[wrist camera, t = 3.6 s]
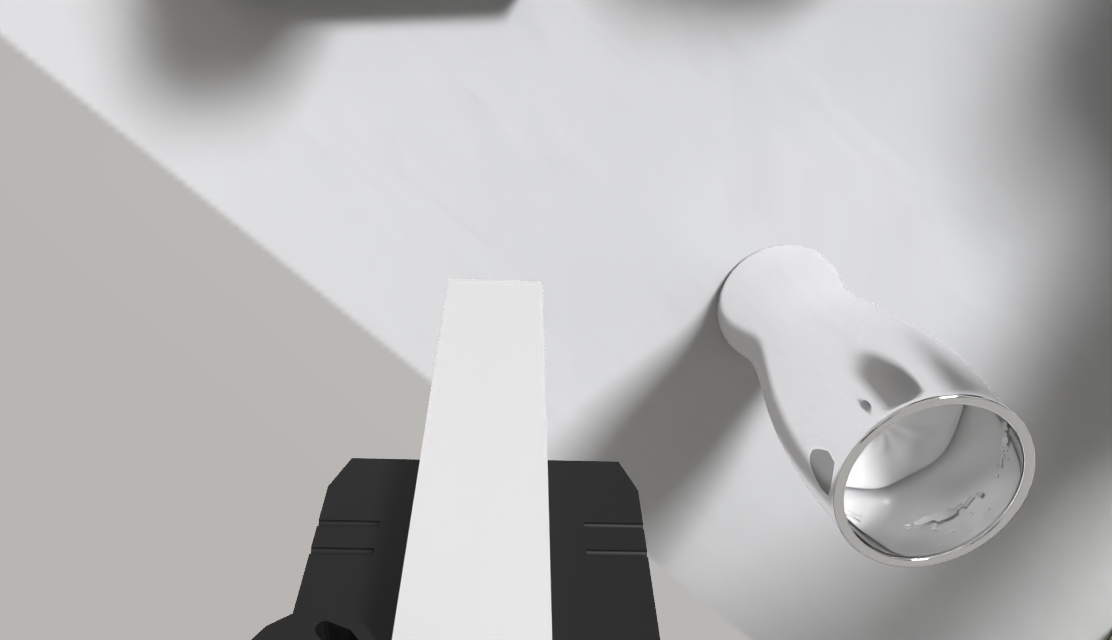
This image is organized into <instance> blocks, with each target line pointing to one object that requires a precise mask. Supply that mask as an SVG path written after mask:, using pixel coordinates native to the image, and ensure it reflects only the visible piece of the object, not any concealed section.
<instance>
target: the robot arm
mask: <svg viewBox="0 0 1112 640" xmlns="http://www.w3.org/2000/svg"><path fill="white" fill-rule="evenodd" d="M311 548H312V549H311V554H309V557H308V561H307V565H306V568H305V572H304V575H303V579H302V583H301V586H300V590H299V593H298V597H297V601H296V604H295V608H294V612H293V614H291V615H289V616H287V617H284V618H282V619H280V620H278V621H276V622H274V623H272V624H270V625H268V626H266V627H265V628H264V629H263V630H261V631H260V632H259V633H258V634H257V635H256V636H255V637H254V638H253V639H252V640H660V637H659V629H658V622H657V615H656V609H655V602H654V596H653V589H652V582H651V576H650V569H649V562H648V557H647V548H646V542H645V535H644V530H643V522H642V515H641V508H640V501H639V495H638V490H637V489H636V487H635V486H634V484H633V483H632V481H631V480H630V478H629V477H628V475H627V474H626V472H625V471H624V470H623V468H622V467H621V465H620V464H619V462H600V461H555V460H548V459H547V421H546V383H545V345H544V306H543V282H542V281H512V280H483V279H453V278H448V284H447V291H446V297H445V304H444V310H443V316H442V323H441V329H440V335H439V342H438V348H437V355H436V361H435V367H434V374H433V380H432V386H431V393H430V400H429V407H428V412H427V418H426V425H425V431H424V438H423V444H422V450H421V457H420V460H408V459H407V460H406V459H363V458H362V459H361V458H352V459H351V460H350V461H349V463H348V464H347V465H346V466H345V467H344V468H343V470H342V471H341V472H340V473H339V474H338V476H337V477H336V478H335V479H334V480H333V481H332V483H331V484H330V485H329V486H328V489H327V493H326V497H325V500H324V503H323V507H322V511H321V514H320V518H319V526H317V529H316V532H315V536H314V539H313V543H312V547H311Z"/></svg>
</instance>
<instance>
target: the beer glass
mask: <svg viewBox="0 0 1112 640" xmlns="http://www.w3.org/2000/svg"><path fill="white" fill-rule="evenodd" d="M717 314H718V322H719V326H720V329H721V332H722V334H723V336H724V337H725V339H726V340H727V342H728V343H729V344H730V345H731V346H732V347H733V348H734V349H735V350H736V351H737V352H739V353H740V354H741V355H743V356H744V357H745V358H747V359H748V360H749V361H751V363H752V364H753V365H754V367H755V369H756V372H757V375H758V379H759V382H760V386H761V390H762V393H763V397H764V400H765V404H766V407H767V411H768V414H769V417H770V419H771V422H772V425H773V427H774V430H775V433H776V435H777V438H778V440H779V442H780V444H781V446H782V448H783V450H784V451H785V453H786V455H787V457H788V459H789V460H790V462H791V464H792V466H793V467H794V469H795V470H796V472H797V473H798V475H799V476H800V478H801V479H802V481H803V482H804V484H805V485H806V487H807V488H808V489H809V491H810V492H811V493H812V495H813V496H814V497H815V499H816V500H817V501H818V502H819V504H820V505H821V506H822V508H823V509H824V510H825V511H826V513H827V514H828V515H829V516H830V518H831V519H832V520H833V521H834V522H835V524H836V525H837V526H838V528H839V529H840V531H841V533H842V534H843V536H844V537H845V539H846V540H847V541H848V542H849V544H850V545H851V546H852V547H854V548H855V549H856V550H857V551H858V552H860V553H861V554H863V555H865V556H866V557H868V558H870V559H872V560H875V561H877V562H880V563H884V564H888V565H893V566H900V567H921V566H929V565H934V564H939V563H942V562H946V561H949V560H952V559H955V558H957V557H960V556H962V555H964V554H966V553H968V552H970V551H972V550H974V549H976V548H977V547H979V546H981V545H982V544H984V543H985V542H987V541H988V540H989V539H991V538H992V537H993V536H995V535H996V534H997V533H998V532H999V531H1000V530H1001V529H1002V528H1003V527H1004V526H1005V525H1006V524H1007V523H1008V522H1009V521H1010V520H1011V519H1012V518H1013V516H1014V515H1015V514H1016V512H1017V511H1018V510H1019V508H1020V507H1021V505H1022V503H1023V502H1024V500H1025V498H1026V496H1027V494H1028V492H1029V489H1030V486H1031V484H1032V480H1033V476H1034V471H1035V449H1034V444H1033V440H1032V437H1031V435H1030V433H1029V431H1028V429H1027V427H1026V425H1025V424H1024V423H1023V421H1022V420H1021V419H1020V418H1019V417H1018V415H1016V414H1015V413H1014V412H1013V411H1012V410H1011V409H1009V408H1008V407H1007V406H1006V405H1005V404H1004V403H1003V402H1002V401H1001V400H1000V399H999V397H998V396H997V395H996V394H995V393H994V392H993V391H992V390H991V389H990V388H989V386H988V385H987V384H986V383H985V382H984V381H983V380H982V379H981V378H980V377H979V376H978V375H977V374H976V373H975V372H974V371H973V370H972V369H971V368H970V367H969V366H968V365H967V364H966V363H965V362H964V361H963V360H961V359H960V358H959V357H958V356H957V355H956V354H955V353H954V352H953V351H952V350H950V349H949V348H948V347H947V346H945V345H944V344H943V343H941V342H940V341H939V340H938V339H936V338H935V337H934V336H932V335H931V334H930V333H928V332H927V331H926V330H924V329H923V328H921V327H919V326H917V325H916V324H914V323H912V322H910V321H908V320H907V319H905V318H903V317H901V316H900V315H898V314H896V313H894V312H891V311H889V310H887V309H885V308H883V307H881V306H879V305H876V304H874V303H872V302H870V301H867V300H865V299H863V298H861V297H859V296H857V295H855V294H853V293H851V292H850V291H848V290H847V288H846V286H845V284H844V283H843V281H842V279H841V277H840V275H839V273H838V272H837V270H836V269H835V267H834V266H833V265H832V264H831V263H830V261H829V260H828V259H827V258H825V257H824V256H823V255H822V254H820V253H819V252H817V251H815V250H813V249H811V248H808V247H805V246H800V245H793V244H783V245H775V246H771V247H767V248H764V249H762V250H759V251H757V252H755V253H754V254H752V255H750V256H749V257H747V258H746V259H744V260H743V261H742V262H741V263H740V264H739V265H738V266H737V267H736V268H735V269H734V270H733V271H732V272H731V274H730V275H729V276H728V278H727V279H726V281H725V283H724V285H723V287H722V290H721V292H720V296H719V300H718V308H717Z"/></svg>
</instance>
